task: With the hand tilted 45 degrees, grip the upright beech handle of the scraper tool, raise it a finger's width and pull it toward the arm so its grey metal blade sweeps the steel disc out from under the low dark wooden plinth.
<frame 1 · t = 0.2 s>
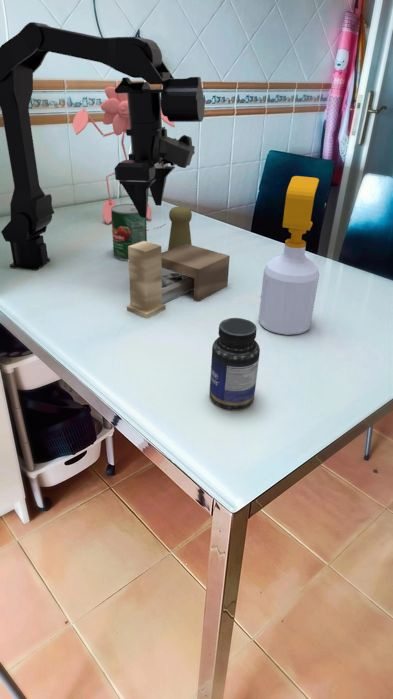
hand: (151, 210, 92), 14 cm above the table, tool pointing down, fingers open, 9 cm apart
pill bottle: (231, 398, 65), on the table
soap bottle: (284, 324, 84), on the table
pink daisy figurine: (130, 225, 134), on the table
canned tomato: (130, 255, 112), on the table
blade tool: (146, 309, 87), on the table
steel token: (172, 285, 97), on the table
plinth: (191, 286, 97), on the table
olive pawn figure: (179, 254, 114), on the table
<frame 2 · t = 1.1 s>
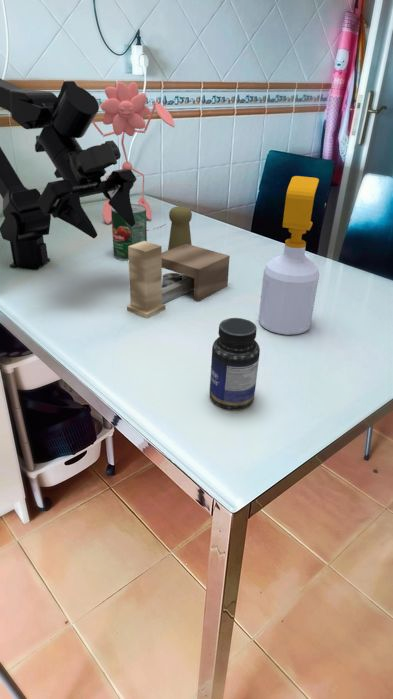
hand: (115, 231, 84), 13 cm above the table, tool tilted 45°, fingers open, 9 cm apart
nothing on the table moved.
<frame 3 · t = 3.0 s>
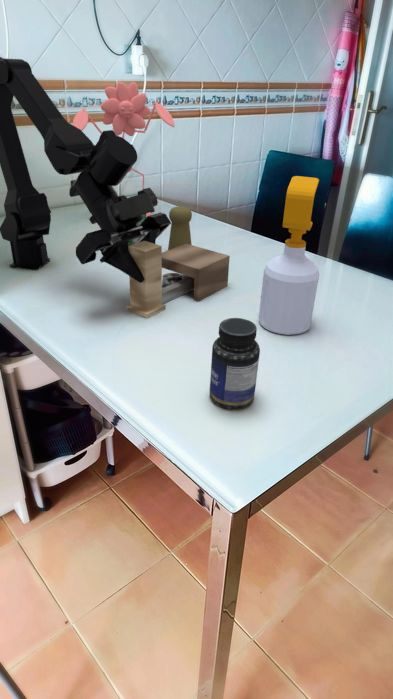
hand: (151, 277, 83), 7 cm above the table, tool tilted 45°, fingers closed on blade tool, 4 cm apart
blade tool: (146, 309, 87), on the table, touching gripper
everything else where it was.
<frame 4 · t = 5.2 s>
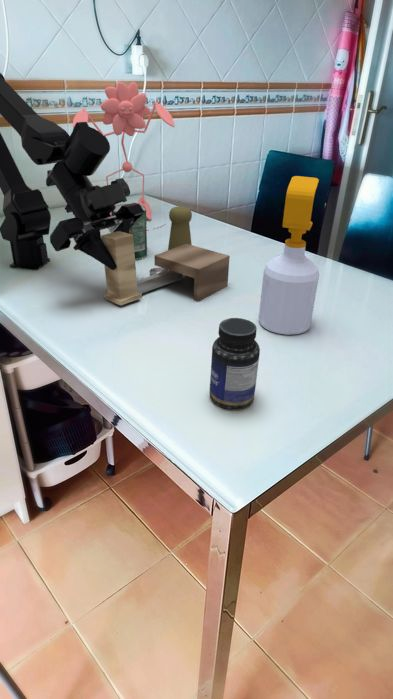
hand: (124, 265, 86), 7 cm above the table, tool tilted 45°, fingers closed on blade tool, 4 cm apart
blade tool: (123, 298, 90), on the table, touching gripper
steel token: (159, 280, 99), on the table
everything else where it was.
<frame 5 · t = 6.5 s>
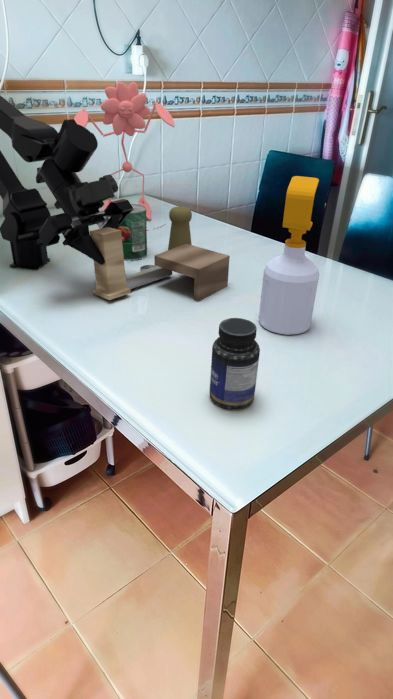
hand: (112, 260, 88), 7 cm above the table, tool tilted 45°, fingers closed on blade tool, 4 cm apart
blade tool: (112, 293, 91), point 1 cm above the table, touching gripper
steel token: (149, 277, 101), on the table
everything else where it was.
when the fingers open (7 cm above the table, at t = 7.6 s): blade tool stays where it is, on the table.
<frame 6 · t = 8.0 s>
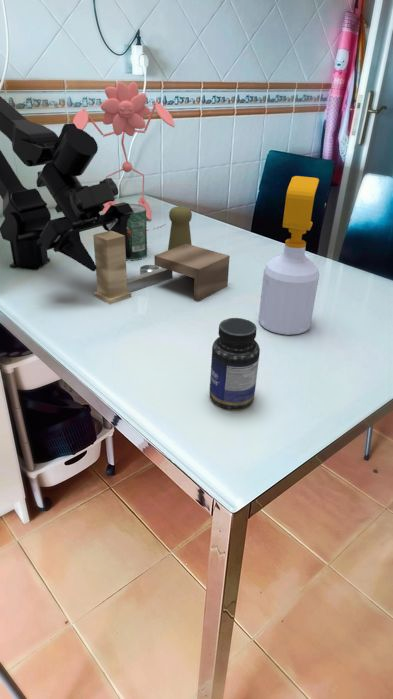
hand: (113, 263, 88), 7 cm above the table, tool tilted 45°, fingers open, 9 cm apart
blade tool: (112, 296, 92), on the table
everything else where it was.
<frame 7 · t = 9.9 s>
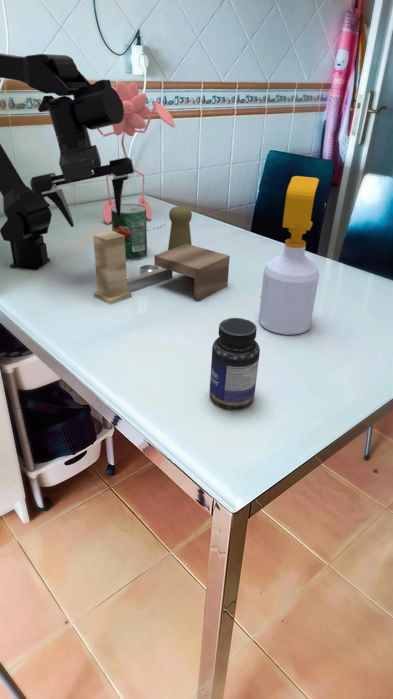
hand: (96, 221, 92), 12 cm above the table, tool pointing down, fingers open, 9 cm apart
nothing on the table moved.
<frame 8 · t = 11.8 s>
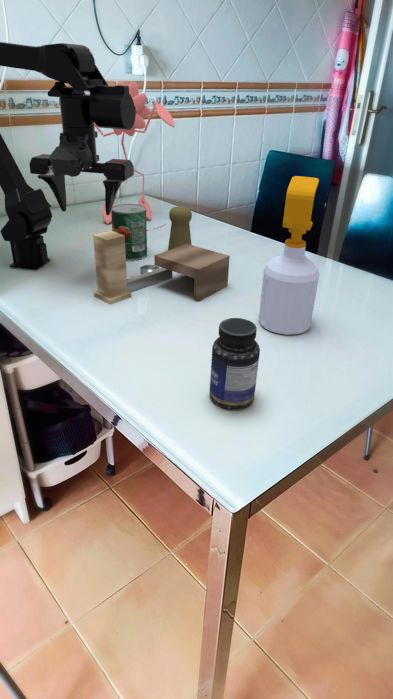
hand: (85, 213, 94), 13 cm above the table, tool pointing down, fingers open, 9 cm apart
nothing on the table moved.
at the end: steel token moved 6.5 cm from its start; steel token inside the target area (3.7 cm from its centre), on the table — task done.
